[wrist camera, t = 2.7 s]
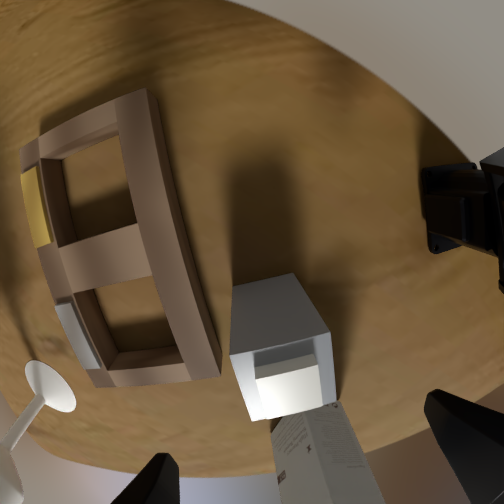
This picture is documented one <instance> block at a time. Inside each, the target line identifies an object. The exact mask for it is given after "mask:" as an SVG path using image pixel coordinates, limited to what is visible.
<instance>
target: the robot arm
mask: <svg viewBox="0 0 504 504" xmlns="http://www.w3.org/2000/svg"><path fill="white" fill-rule="evenodd" d="M480 166H481V169H482V170H477V166H476V164H475V163H461V164H451V165H441V166H433V167H425V168H423V169H422V172H421V175H422V181H423V188H424V196H425V205H426V215H427V226H428V239H429V251H430V252H431V253H433V254H439V253H442V252H445V251H448V250H451V249H454V248H457V247H460V246H462V245H463V246H466V247H469V248H472V249H475V250H477V251H480V252H483V253H486V254H489V255H492V256H494V257H497V258H498V260H499V277H500V279H499V289H500V290H501V291H502V293H503V294H504V147H503V148H502V149H500V150H498V151H497V152H495V153H493V154H491V155H490V156H488V157H486V158H484V159H483V160H481V161H480ZM472 168H473V170H472ZM427 172H428V173H429V176H427ZM435 245H436V248H435V249H434V247H435ZM424 413H425V415H426V418H427V420H428V422H429V424H430V427H431V429H432V431H433V434H434V436H435V438H436V440H437V443H438V445H439V446H440V448H441V450H442V451H443V453H444V455H445V457H446V458H447V460H448V462H449V464H450V465H451V467H452V469H453V470H454V473H455V474H456V476H457V478H458V480H459V482H460V483H461V485H462V487H463V489H464V491H465V493H466V495H467V496H468V498H469V500H470V502H471V504H504V414H503V413H500V412H497V411H494V410H491V409H489V408H486V407H484V406H481V405H478V404H476V403H473V402H470V401H468V400H465V399H463V398H460V397H458V396H455V395H453V394H450V393H448V392H445V391H443V390H440V389H435V390H433V391H431V392H429V393H428V394H427V397H426V401H425V405H424ZM111 504H180V490H179V467H178V465H177V463H176V462H175V461H174V459H173V458H172V457H171V455H170V454H169V453H157V454H156V455H155V456H154V457H153V458H152V459H151V460H150V461H149V462H148V464H147V465H146V466H145V467H144V468H143V469H142V470H141V471H140V472H139V474H138V475H137V476H136V477H135V478H134V479H133V480H132V481H131V482H130V483H129V485H128V486H127V487H126V488H125V489H124V490H123V491H122V492H121V493H120V494H119V495H118V496H117V497H116V498H115V499H114V500H113V501H112V503H111Z"/></svg>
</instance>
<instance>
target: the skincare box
mask: <svg viewBox="0 0 504 504" xmlns="http://www.w3.org/2000/svg"><path fill="white" fill-rule="evenodd" d="M271 441H272V447H273V454H274V460H275V466H276V472H277V478H278V485H279V490H280V496H281V502H282V504H386V503H385V501H384V499H383V496H382V495H381V492H380V489H379V487H378V485H377V483H376V480H375V478H374V475H373V473H372V471H371V469H370V467H369V464H368V462H367V460H366V457H365V455H364V453H363V451H362V449H361V446H360V444H359V442H358V440H357V437H356V435H355V433H354V431H353V428H352V426H351V424H350V422H349V420H348V417H347V415H346V413H345V411H344V409H343V406H342V404H341V402H340V401H336V402H332V403H329V404H325V405H323V406H322V407H318V408H314V409H311V410H307V411H303V412H299V413H294V414H290V415H286V416H283V417H282V419H281V420H280V422H279V423H278V424H277V426H276V427H275V429H274V430H273V432H272V434H271Z"/></svg>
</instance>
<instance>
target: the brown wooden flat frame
mask: <svg viewBox="0 0 504 504" xmlns="http://www.w3.org/2000/svg"><path fill="white" fill-rule="evenodd" d="M116 135H119V138H120V144H121V150H122V155H123V160H124V165H125V170H126V175H127V180H128V185H129V189H130V194H131V198H132V202H133V207H134V211H135V215H136V219H137V223H133V224H130V225H127V226H123V227H120V228H117V229H113V230H110V231H107V232H104V233H100V234H97V235H94V236H91V237H88V238H85V239H82V240H79V241H77V238H76V234H75V230H74V226H73V222H72V218H71V214H70V209H69V205H68V200H67V195H66V190H65V184H64V179H63V173H62V167H61V160H62V159H64V158H66V157H68V156H70V155H72V154H74V153H76V152H79V151H81V150H83V149H85V148H87V147H90V146H92V145H94V144H97V143H99V142H101V141H104V140H106V139H109V138H111V137H114V136H116ZM19 153H20V163H21V172H22V175H20V177H21V184H22V191H23V197H24V202H25V208H26V213H27V218H28V222H29V227H30V231H31V235H32V239H33V243H34V247H35V249H36V248H37V251H38V255H39V258H40V261H41V265H42V268H43V271H44V274H45V277H46V280H47V283H48V286H49V289H50V292H51V294H52V297H53V300H54V302H55V305H56V306H54V307H55V309H56V312H57V314H58V317H59V319H60V321H61V324H62V326H63V328H64V331H65V333H66V335H67V337H68V339H69V341H70V344H71V346H72V348H73V350H74V352H75V354H76V356H77V358H78V360H79V362H80V363H81V365H82V367H83V369H86V371H87V373H88V375H89V377H90V379H91V380H92V382H93V384H94V386H95V387H96V388H103V387H128V386H143V385H155V384H166V383H175V382H184V381H192V380H199V379H206V378H213V377H219V376H221V368H222V353H221V350H220V347H219V344H218V341H217V337H216V334H215V331H214V328H213V325H212V322H211V319H210V315H209V312H208V309H207V306H206V302H205V299H204V296H203V292H202V289H201V285H200V282H199V278H198V275H197V271H196V268H195V264H194V261H193V257H192V253H191V250H190V246H189V242H188V238H187V234H186V231H185V227H184V223H183V219H182V215H181V211H180V207H179V202H178V198H177V194H176V190H175V185H174V181H173V177H172V172H171V168H170V163H169V158H168V154H167V149H166V144H165V139H164V134H163V129H162V123H161V118H160V113H159V107H158V101H157V99H156V98H155V97H154V96H153V95H152V93H151V92H150V91H149V90H148V89H147V88H146V87H145V88H142V89H139V90H136V91H133V92H131V93H128V94H126V95H123V96H120V97H118V98H116V99H113V100H111V101H108V102H106V103H104V104H101V105H99V106H97V107H95V108H93V109H90V110H88V111H86V112H84V113H82V114H80V115H78V116H76V117H74V118H72V119H70V120H68V121H66V122H64V123H62V124H61V125H59V126H57V127H55V128H53V129H51V130H50V131H48V132H46V133H45V134H43V135H41V136H39V137H38V138H36V139H35V140H33V141H31V142H30V143H28V144H27V145H25V146H23V147H22V148H20V149H19ZM151 275H153V278H154V281H155V285H156V288H157V291H158V294H159V297H160V300H161V303H162V305H163V308H164V311H165V314H166V317H167V320H168V322H169V325H170V328H171V330H172V333H173V336H174V338H175V341H176V343H177V345H175V346H169V347H162V348H155V349H148V350H140V351H132V352H123V353H119V352H118V350H117V348H116V345H115V343H114V341H113V339H112V337H111V334H110V332H109V330H108V327H107V325H106V323H105V320H104V318H103V315H102V313H101V310H100V308H99V305H98V302H97V300H96V297H95V294H94V292H93V289H94V288H98V287H102V286H107V285H111V284H116V283H120V282H124V281H129V280H133V279H138V278H142V277H146V276H151Z"/></svg>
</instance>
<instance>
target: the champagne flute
mask: <svg viewBox="0 0 504 504" xmlns="http://www.w3.org/2000/svg"><path fill="white" fill-rule="evenodd" d="M25 373H26V377H27V380H28V382H29V384H30V386H31V388H32V390H33V391H34V393H35V395H36V396H35V397H34V398H33V399H32V401H31V402H30V403H29V404H28V406H27V407H26V408H25V409H24V411H23V412H22V413H21V415H20V416H19V417H18V419H17V420H16V421H15V423H14V424H13V425H12V427H11V428H10V429H9V431H8V432H7V433H6V435H5V436H4V438H3V439H2V440H1V442H0V504H22V502H23V500H24V494H23V488H22V483H21V479H20V477H19V474H18V471H17V469H16V466H15V463H14V461H13V459H12V457H11V455H10V452H11V451H12V449H13V448H14V446H15V445H16V443H17V442H18V440H19V438H20V437H21V436H22V434H23V433H24V432H25V430H26V429H27V427H28V426H29V424H30V423H31V422H32V420H33V419H34V417H35V416H36V415H37V413H38V412H39V410H40V409H41V408H42V406H43V405H44V404H46V405H48V406H50V407H52V408H54V409H56V410H58V411H62V412H71V411H73V410H74V409H75V407H76V399H75V396H74V394H73V391H72V390H71V388H70V386H69V385H68V384H67V382H66V381H65V380H64V379H63V378H62V377H61V376H60V375H59V374H58V373H57V372H56V371H55V370H54V369H52V368H51V367H50V366H48V365H46V364H45V363H42V362H40V361H36V360H32V361H29V362H28V363H27V364H26V367H25Z"/></svg>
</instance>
